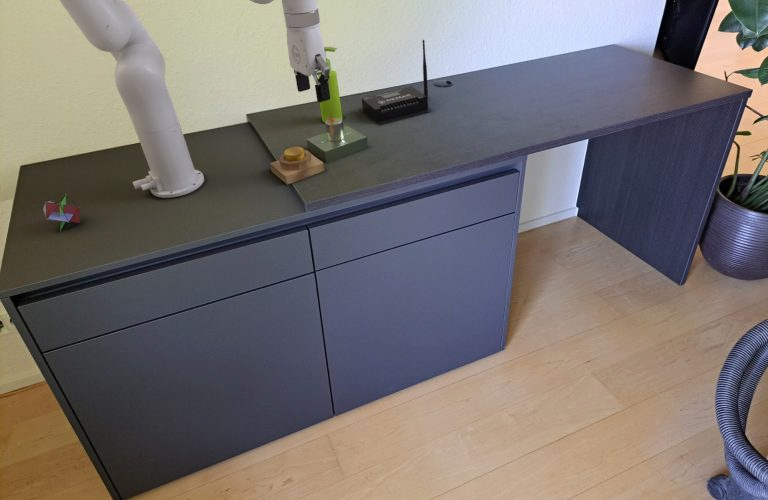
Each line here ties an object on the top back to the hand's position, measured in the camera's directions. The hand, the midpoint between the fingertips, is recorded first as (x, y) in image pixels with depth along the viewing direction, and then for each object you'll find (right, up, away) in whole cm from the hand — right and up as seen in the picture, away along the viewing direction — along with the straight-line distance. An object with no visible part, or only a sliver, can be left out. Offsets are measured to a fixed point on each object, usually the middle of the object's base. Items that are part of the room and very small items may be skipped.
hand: (313, 95), depth 131 cm
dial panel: (+5, -10, +12) cm, 17 cm away
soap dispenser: (+2, +1, +28) cm, 28 cm away
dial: (+4, -8, +10) cm, 14 cm away
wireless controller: (+22, +4, +30) cm, 37 cm away
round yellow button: (-5, -14, +2) cm, 15 cm away
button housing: (-4, -17, +4) cm, 18 cm away
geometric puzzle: (-53, -31, -7) cm, 62 cm away
